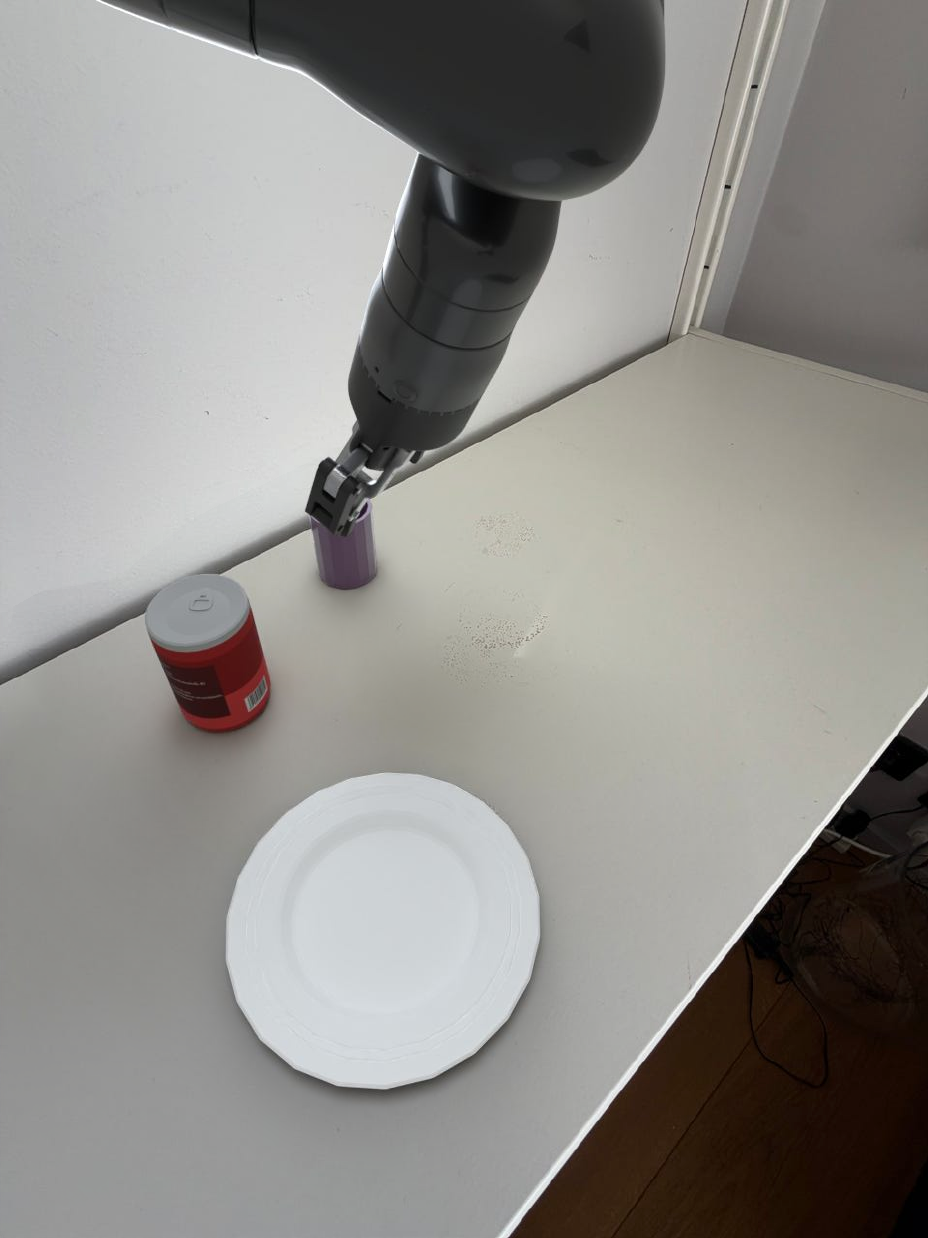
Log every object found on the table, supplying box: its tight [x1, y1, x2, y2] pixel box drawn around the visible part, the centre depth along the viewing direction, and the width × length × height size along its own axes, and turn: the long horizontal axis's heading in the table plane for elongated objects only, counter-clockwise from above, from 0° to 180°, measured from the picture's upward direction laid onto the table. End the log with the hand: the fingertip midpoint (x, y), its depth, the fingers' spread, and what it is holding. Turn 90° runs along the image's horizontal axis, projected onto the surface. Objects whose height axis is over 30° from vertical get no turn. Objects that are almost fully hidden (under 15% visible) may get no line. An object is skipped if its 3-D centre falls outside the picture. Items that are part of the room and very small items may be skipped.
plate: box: [225, 771, 541, 1091], centre depth 48 cm, size 21×21×2 cm
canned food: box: [144, 573, 272, 733], centre depth 58 cm, size 8×8×11 cm
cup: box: [308, 493, 378, 590], centre depth 71 cm, size 6×6×8 cm
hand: (372, 489), depth 53 cm, fingers open, 8 cm apart
